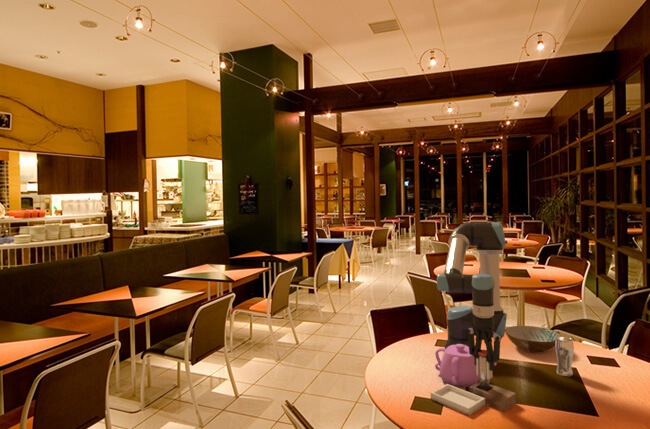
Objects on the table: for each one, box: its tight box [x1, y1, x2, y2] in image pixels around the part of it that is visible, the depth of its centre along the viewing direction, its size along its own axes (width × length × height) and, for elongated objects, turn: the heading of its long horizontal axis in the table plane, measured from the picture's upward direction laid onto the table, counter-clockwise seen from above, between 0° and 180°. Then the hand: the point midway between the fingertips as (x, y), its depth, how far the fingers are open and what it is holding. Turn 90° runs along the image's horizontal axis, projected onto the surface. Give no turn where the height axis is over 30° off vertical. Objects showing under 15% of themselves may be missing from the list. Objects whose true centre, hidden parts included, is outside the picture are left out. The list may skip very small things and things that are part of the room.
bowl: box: [505, 325, 562, 354], centre depth 201 cm, size 25×25×8 cm
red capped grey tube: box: [478, 349, 491, 391], centre depth 152 cm, size 4×4×15 cm
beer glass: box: [554, 335, 575, 377], centre depth 171 cm, size 7×7×15 cm
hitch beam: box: [468, 380, 517, 412], centre depth 150 cm, size 14×8×4 cm, turn 39°
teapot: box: [434, 344, 497, 388], centre depth 170 cm, size 19×21×14 cm
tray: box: [430, 383, 486, 416], centre depth 150 cm, size 16×11×2 cm
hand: (484, 376), depth 152 cm, fingers closed on red capped grey tube, 3 cm apart
